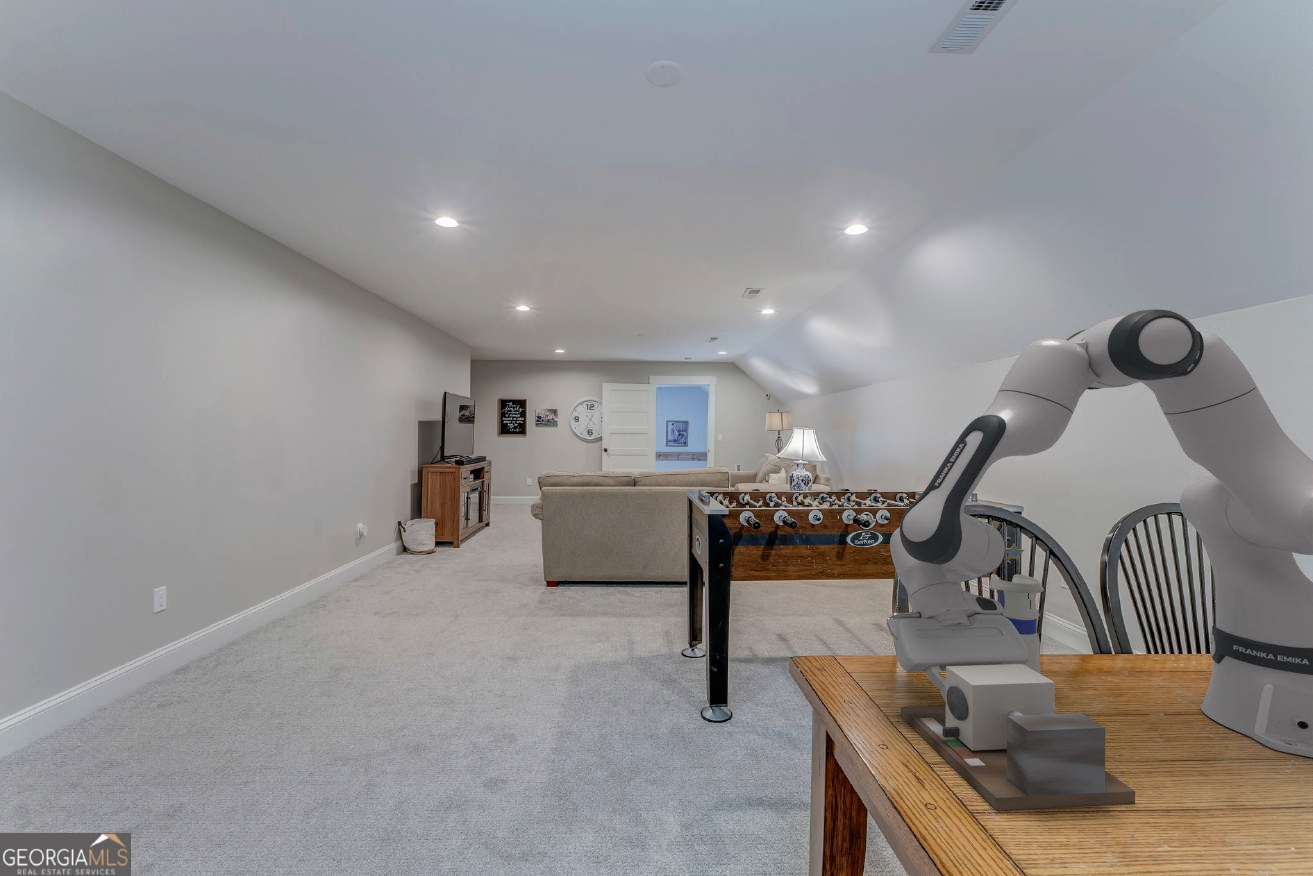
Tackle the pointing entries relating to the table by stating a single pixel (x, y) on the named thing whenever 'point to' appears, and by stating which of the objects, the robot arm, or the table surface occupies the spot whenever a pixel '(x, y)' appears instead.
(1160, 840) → the table surface
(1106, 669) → the table surface
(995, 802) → the gauge stand
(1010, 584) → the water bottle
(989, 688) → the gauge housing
